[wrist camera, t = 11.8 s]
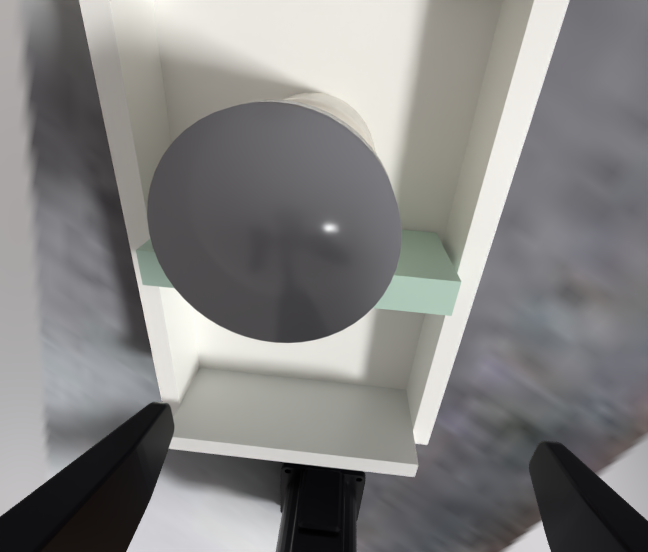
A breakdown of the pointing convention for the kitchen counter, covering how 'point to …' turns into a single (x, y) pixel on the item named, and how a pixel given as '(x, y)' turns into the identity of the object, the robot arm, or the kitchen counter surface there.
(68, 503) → the robot arm
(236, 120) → the jar
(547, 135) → the kitchen counter surface
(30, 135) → the kitchen counter surface
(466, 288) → the white tray
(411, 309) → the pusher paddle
